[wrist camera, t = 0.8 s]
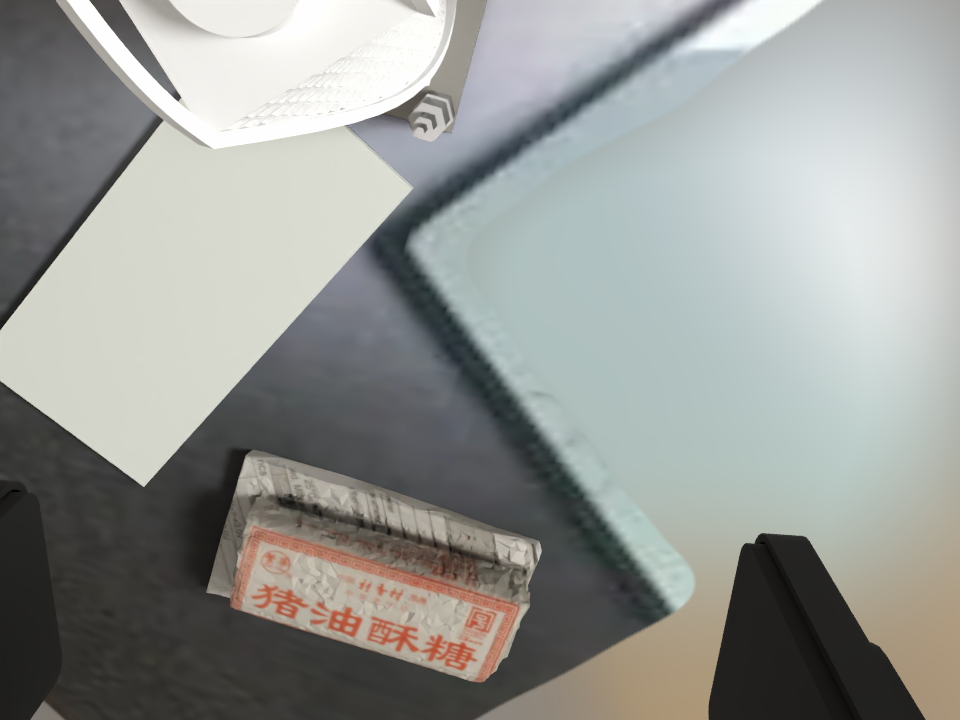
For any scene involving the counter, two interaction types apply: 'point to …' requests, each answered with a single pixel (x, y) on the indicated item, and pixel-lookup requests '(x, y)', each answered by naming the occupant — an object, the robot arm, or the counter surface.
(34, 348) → the mat
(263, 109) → the twisted tower model
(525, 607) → the packaged product
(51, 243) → the counter surface
